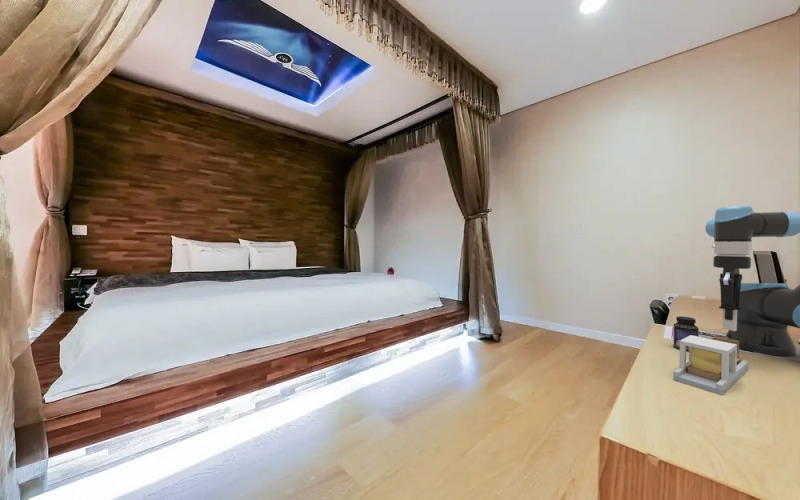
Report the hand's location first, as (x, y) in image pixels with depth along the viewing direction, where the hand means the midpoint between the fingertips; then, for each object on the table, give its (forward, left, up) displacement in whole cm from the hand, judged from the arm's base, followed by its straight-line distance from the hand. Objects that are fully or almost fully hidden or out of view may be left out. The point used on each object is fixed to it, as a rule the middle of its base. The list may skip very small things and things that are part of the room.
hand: (729, 329), depth 87 cm
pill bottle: (+2, -10, -10) cm, 14 cm away
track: (+17, +7, -10) cm, 21 cm away
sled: (+15, +6, -8) cm, 18 cm away
